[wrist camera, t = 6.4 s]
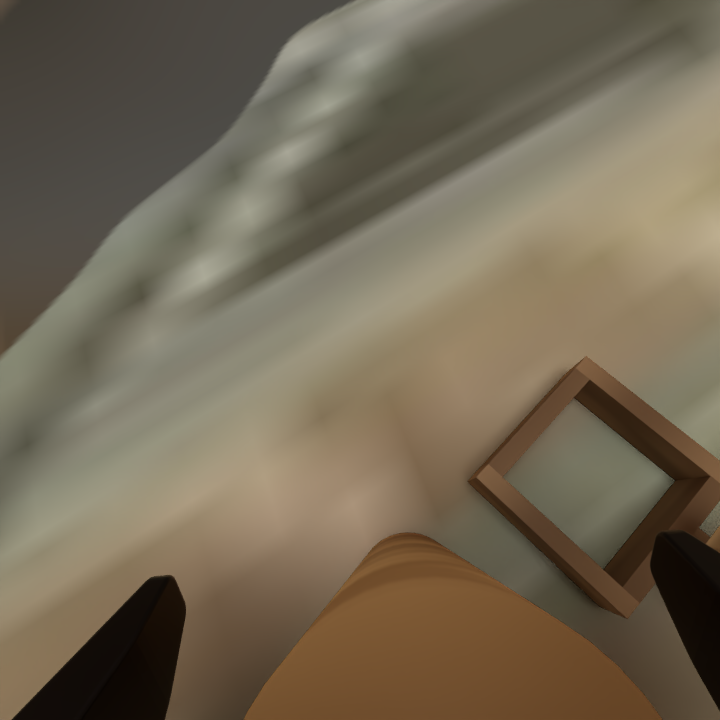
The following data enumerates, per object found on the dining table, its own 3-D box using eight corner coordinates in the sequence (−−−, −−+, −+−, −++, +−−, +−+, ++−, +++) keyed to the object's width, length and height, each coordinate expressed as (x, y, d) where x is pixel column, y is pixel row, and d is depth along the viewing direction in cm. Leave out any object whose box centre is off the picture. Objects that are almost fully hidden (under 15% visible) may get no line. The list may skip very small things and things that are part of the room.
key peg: (483, 588, 16) (852, 893, 3) (411, 672, 16) (489, 1493, 2) (407, 510, 17) (439, 491, 4) (336, 586, 17) (103, 854, 3)
